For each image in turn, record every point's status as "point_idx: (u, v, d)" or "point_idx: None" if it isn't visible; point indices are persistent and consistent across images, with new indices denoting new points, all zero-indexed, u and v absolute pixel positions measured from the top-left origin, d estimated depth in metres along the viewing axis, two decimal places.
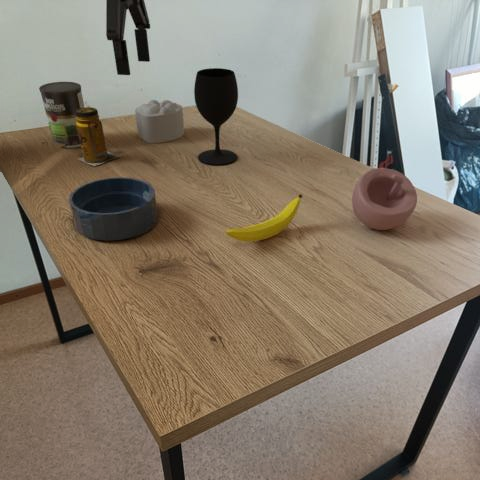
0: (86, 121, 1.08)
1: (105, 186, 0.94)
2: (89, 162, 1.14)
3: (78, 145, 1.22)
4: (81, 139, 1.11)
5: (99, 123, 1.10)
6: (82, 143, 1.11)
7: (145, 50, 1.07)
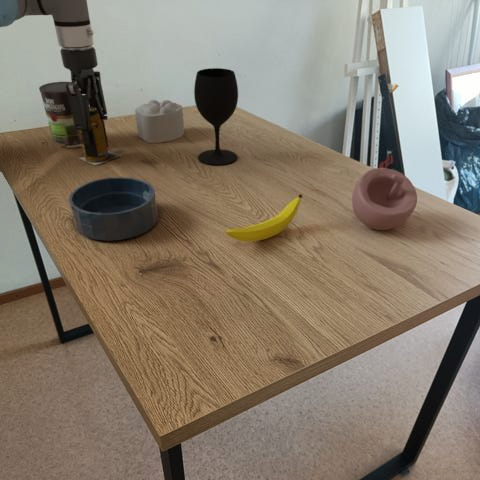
0: None
1: (105, 186, 0.94)
2: (89, 161, 1.14)
3: (78, 145, 1.22)
4: (82, 138, 1.11)
5: (100, 122, 1.10)
6: (83, 142, 1.12)
7: None
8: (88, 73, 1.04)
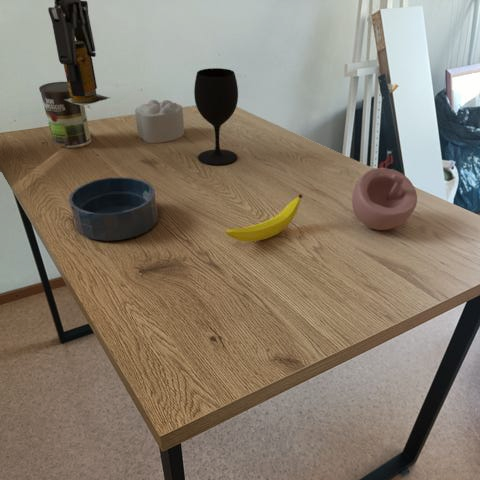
0: None
1: (105, 186, 0.94)
2: (76, 102, 1.05)
3: (78, 145, 1.22)
4: None
5: (87, 58, 1.01)
6: None
7: None
8: None
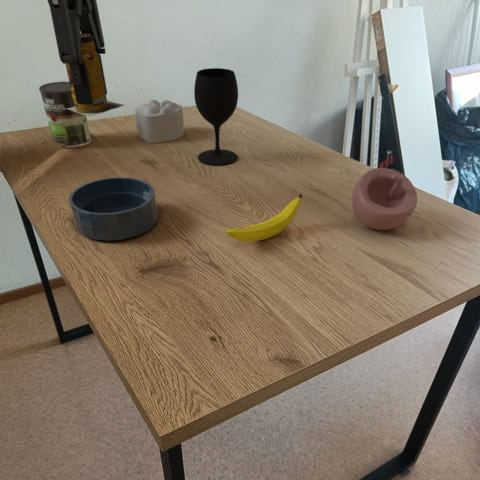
0: None
1: (105, 186, 0.94)
2: (82, 112, 0.83)
3: (78, 145, 1.22)
4: (71, 78, 0.80)
5: (96, 55, 0.79)
6: (72, 84, 0.81)
7: None
8: None
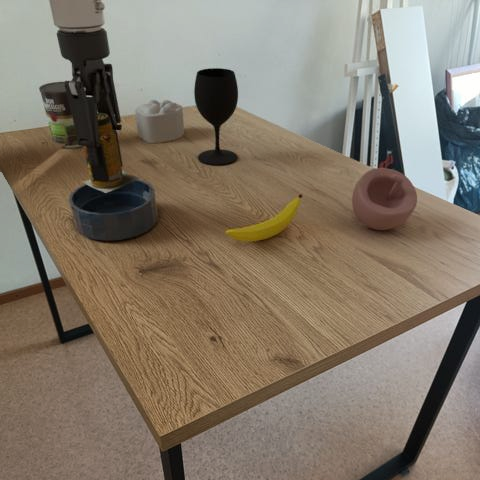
0: None
1: None
2: (98, 187, 0.84)
3: (78, 145, 1.22)
4: (88, 157, 0.81)
5: (112, 135, 0.80)
6: (89, 162, 0.81)
7: None
8: (96, 66, 0.74)
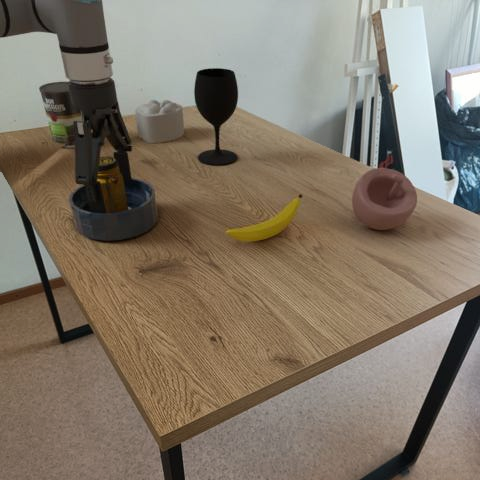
0: (103, 176, 0.83)
1: None
2: None
3: None
4: None
5: (120, 177, 0.85)
6: None
7: (126, 174, 0.91)
8: (104, 112, 0.78)
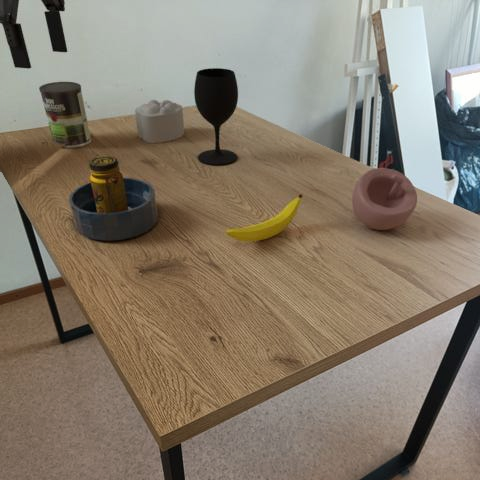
0: (103, 176, 0.83)
1: None
2: None
3: (78, 145, 1.22)
4: (96, 197, 0.86)
5: (120, 177, 0.85)
6: (97, 202, 0.86)
7: (60, 38, 0.87)
8: None
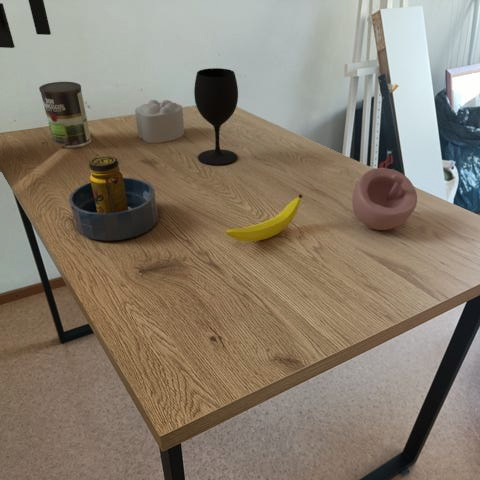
0: (103, 176, 0.83)
1: None
2: None
3: (78, 145, 1.22)
4: (96, 197, 0.86)
5: (120, 177, 0.85)
6: (97, 202, 0.86)
7: (43, 20, 0.89)
8: None
